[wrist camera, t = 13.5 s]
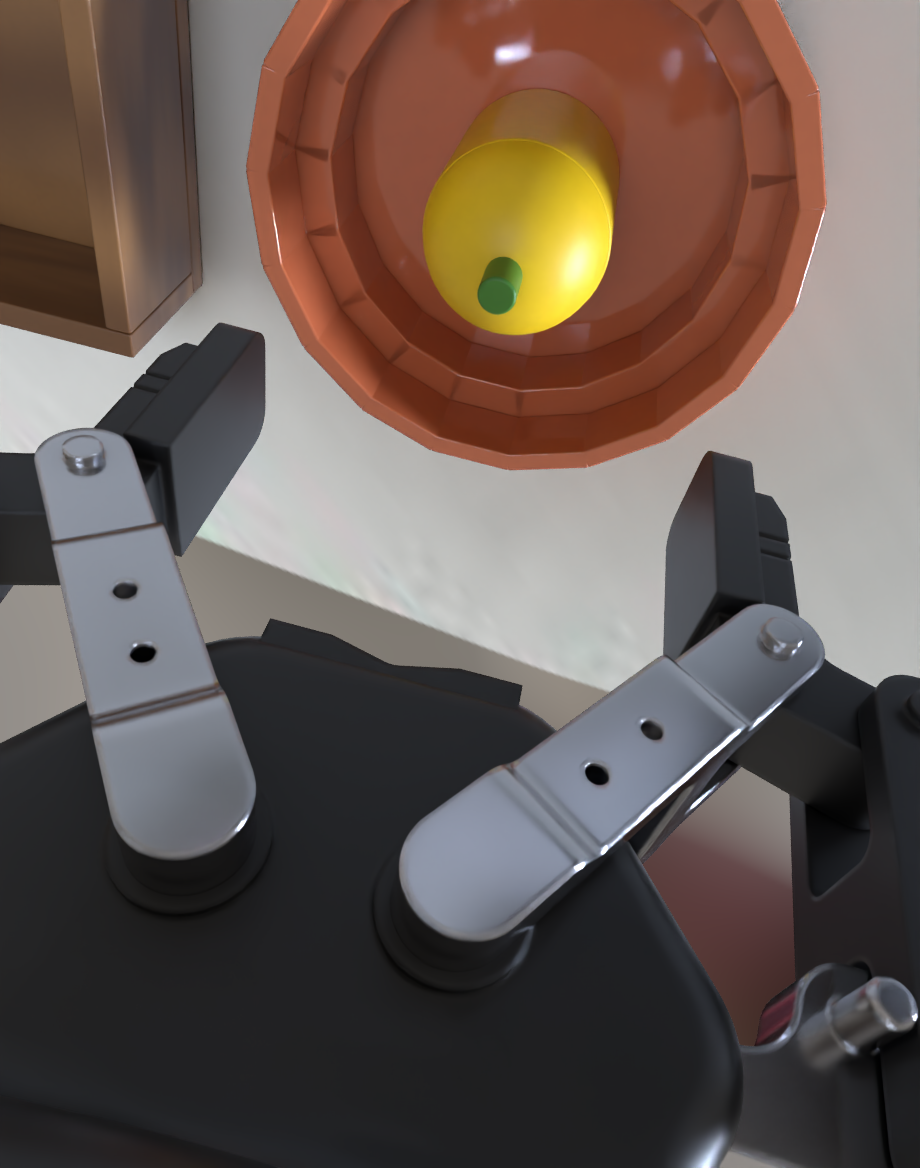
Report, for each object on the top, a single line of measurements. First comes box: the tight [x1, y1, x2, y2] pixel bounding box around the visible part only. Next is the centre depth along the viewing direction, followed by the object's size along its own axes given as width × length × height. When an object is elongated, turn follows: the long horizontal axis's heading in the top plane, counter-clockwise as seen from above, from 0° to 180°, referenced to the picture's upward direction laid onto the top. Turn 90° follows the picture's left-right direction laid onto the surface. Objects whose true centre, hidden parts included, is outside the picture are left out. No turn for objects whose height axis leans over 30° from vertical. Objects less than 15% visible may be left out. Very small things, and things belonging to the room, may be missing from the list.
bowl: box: [246, 0, 827, 470], centre depth 23 cm, size 14×14×5 cm
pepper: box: [422, 89, 620, 335], centre depth 21 cm, size 5×5×8 cm
